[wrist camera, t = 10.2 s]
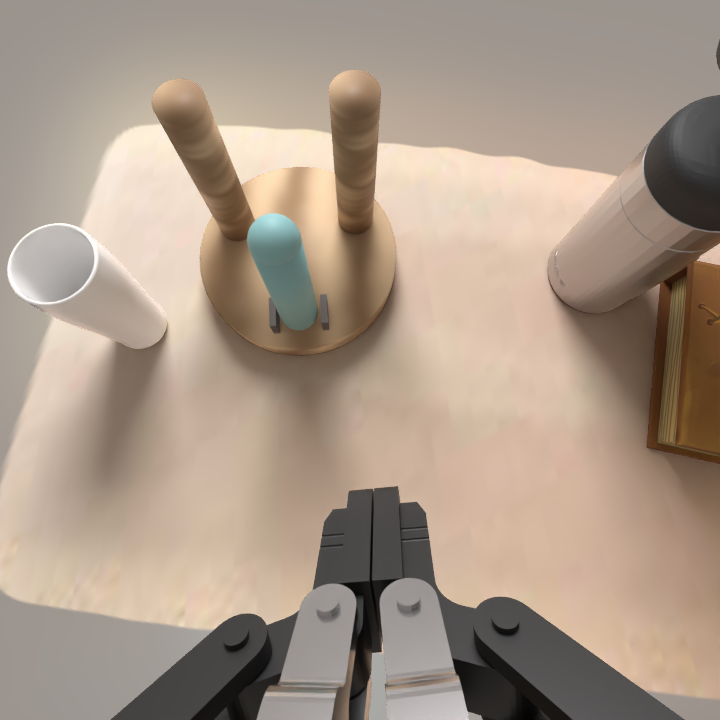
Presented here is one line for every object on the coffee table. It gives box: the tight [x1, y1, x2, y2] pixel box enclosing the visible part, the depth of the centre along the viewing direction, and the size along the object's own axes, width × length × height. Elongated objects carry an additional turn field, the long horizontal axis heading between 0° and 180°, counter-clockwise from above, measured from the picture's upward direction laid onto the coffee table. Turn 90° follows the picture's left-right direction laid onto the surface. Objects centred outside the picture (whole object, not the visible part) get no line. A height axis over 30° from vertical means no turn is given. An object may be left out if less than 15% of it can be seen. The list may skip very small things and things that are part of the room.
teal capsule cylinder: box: [247, 213, 318, 330], centre depth 37 cm, size 4×4×17 cm
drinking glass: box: [7, 224, 167, 349], centre depth 41 cm, size 7×7×15 cm
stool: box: [152, 70, 396, 355], centre depth 41 cm, size 20×20×20 cm
